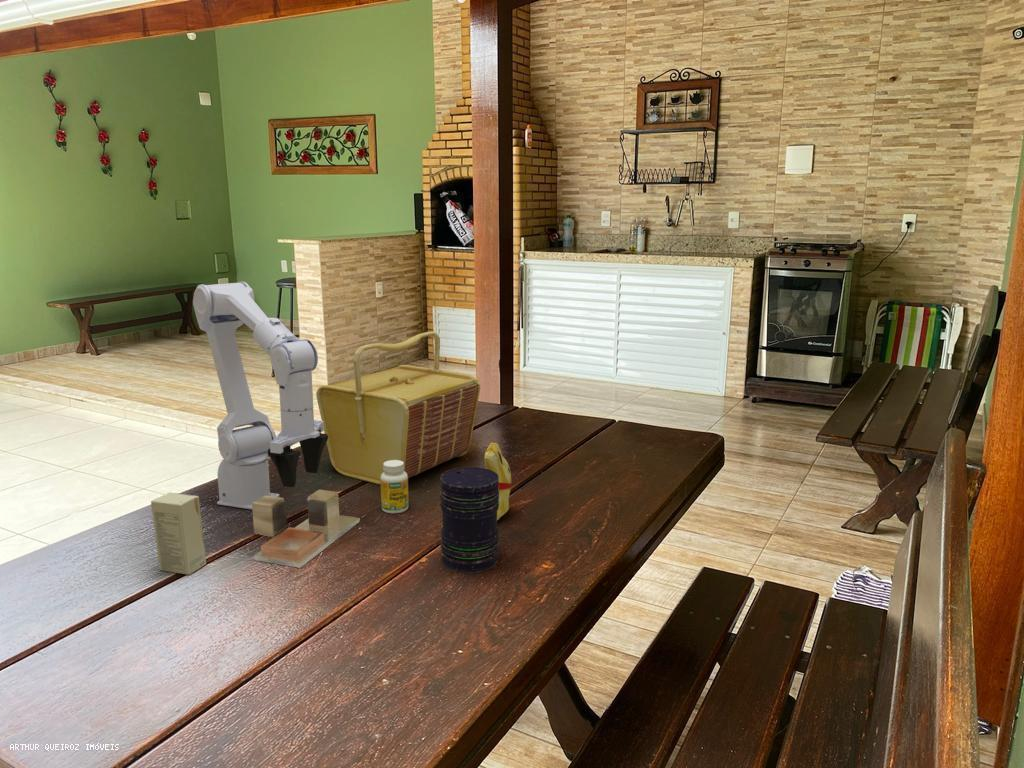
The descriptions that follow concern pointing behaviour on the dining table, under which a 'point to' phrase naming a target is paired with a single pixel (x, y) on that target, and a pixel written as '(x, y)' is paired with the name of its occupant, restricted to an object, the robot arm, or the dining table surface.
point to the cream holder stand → (308, 532)
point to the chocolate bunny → (502, 468)
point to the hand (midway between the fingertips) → (300, 479)
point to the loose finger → (269, 515)
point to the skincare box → (178, 533)
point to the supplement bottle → (394, 487)
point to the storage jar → (469, 519)
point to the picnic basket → (398, 416)
